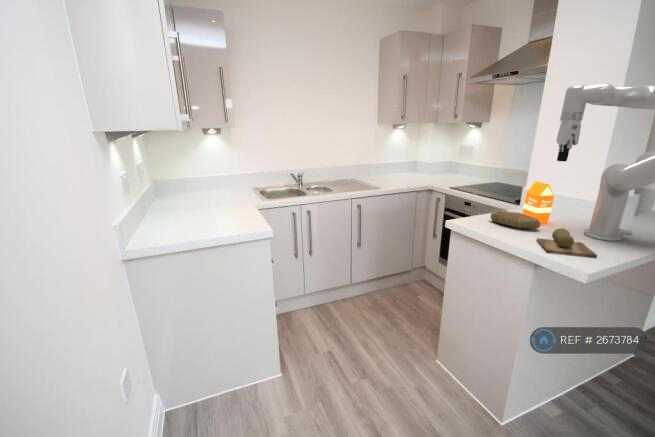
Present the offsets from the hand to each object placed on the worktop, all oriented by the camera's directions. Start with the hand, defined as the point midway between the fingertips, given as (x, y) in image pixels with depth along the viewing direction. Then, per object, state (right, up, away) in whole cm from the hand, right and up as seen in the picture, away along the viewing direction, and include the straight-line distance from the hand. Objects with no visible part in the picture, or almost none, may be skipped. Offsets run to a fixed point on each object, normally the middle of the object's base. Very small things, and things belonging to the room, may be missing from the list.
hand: (561, 161), depth 135 cm
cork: (-5, -32, -7) cm, 34 cm away
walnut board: (-9, -38, -13) cm, 41 cm away
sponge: (-12, -29, +15) cm, 35 cm away
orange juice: (+2, -27, +21) cm, 34 cm away
